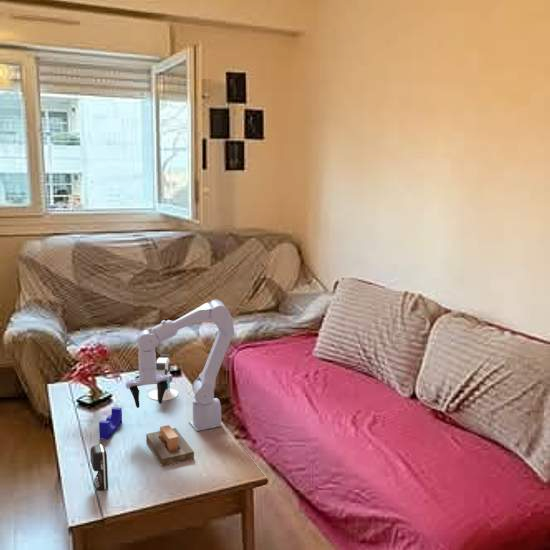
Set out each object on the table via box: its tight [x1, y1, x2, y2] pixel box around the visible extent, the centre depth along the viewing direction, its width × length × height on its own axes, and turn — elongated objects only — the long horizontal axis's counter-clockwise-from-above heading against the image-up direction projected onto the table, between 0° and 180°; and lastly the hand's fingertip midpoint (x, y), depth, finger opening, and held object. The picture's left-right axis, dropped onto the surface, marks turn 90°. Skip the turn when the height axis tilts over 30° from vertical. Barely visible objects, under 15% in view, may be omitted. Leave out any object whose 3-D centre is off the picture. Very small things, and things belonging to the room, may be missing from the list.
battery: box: [89, 443, 109, 491], centre depth 168 cm, size 7×4×11 cm, turn 25°
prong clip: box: [159, 424, 178, 452], centre depth 189 cm, size 3×9×6 cm, turn 28°
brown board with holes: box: [145, 427, 195, 467], centre depth 189 cm, size 10×18×2 cm, turn 27°
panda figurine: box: [148, 353, 179, 402], centre depth 230 cm, size 12×11×15 cm
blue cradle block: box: [98, 406, 123, 440], centre depth 201 cm, size 12×4×6 cm, turn 173°
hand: (148, 404), depth 200 cm, fingers open, 7 cm apart
